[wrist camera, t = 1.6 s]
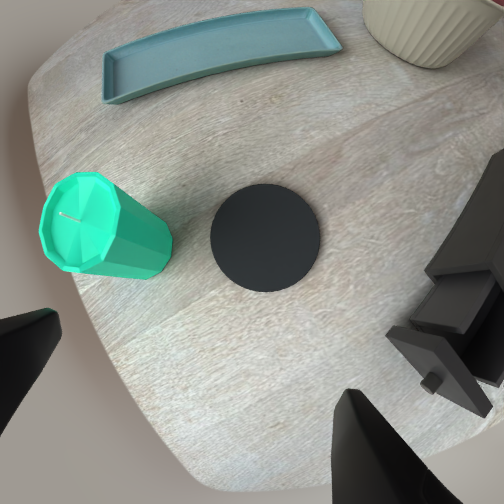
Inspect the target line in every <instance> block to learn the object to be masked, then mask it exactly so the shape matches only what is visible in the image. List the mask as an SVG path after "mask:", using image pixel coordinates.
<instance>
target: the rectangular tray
mask: <svg viewBox="0 0 504 504" xmlns="http://www.w3.org/2000/svg"><path fill="white" fill-rule="evenodd" d="M342 49H343V47H342V45H341V44H340V43H339V41H338V40H337V38H336V37H335V36H334V34H333V33H332V32H331V30H330V29H329V27H328V26H327V25H326V23H325V22H324V21H323V19H322V18H321V17H320V15H319V14H318V13H317V12H316V10H315V9H314V8H312V7H297V8H282V9H270V10H261V11H253V12H246V13H239V14H233V15H227V16H222V17H217V18H212V19H207V20H203V21H198V22H194V23H190V24H186V25H182V26H179V27H175V28H171V29H168V30H165V31H161V32H158V33H155V34H152V35H149V36H146V37H143V38H140V39H137V40H134V41H132V42H129V43H126V44H124V45H121V46H119V47H116V48H114V49H111V50H109V51H106V52H105V53H104V54H103V60H102V62H103V64H102V103H103V104H115V105H117V104H121V103H123V102H126V101H128V100H131V99H134V98H136V97H139V96H142V95H145V94H148V93H151V92H154V91H157V90H160V89H163V88H166V87H169V86H173V85H176V84H179V83H183V82H186V81H189V80H193V79H197V78H200V77H204V76H208V75H212V74H216V73H220V72H225V71H229V70H234V69H239V68H244V67H249V66H254V65H260V64H266V63H272V62H279V61H286V60H294V59H302V58H312V57H325V56H330V55H332V54H335V53H337V52H339V51H340V50H342Z"/></svg>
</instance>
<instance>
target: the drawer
mask: <svg viewBox="0 0 504 504" xmlns="http://www.w3.org/2000/svg"><path fill="white" fill-rule="evenodd" d="M410 320H411V322H412V323H413V324H414V325H415V326H416V327H417V329H418V330H419V331H420V332H419V331H415V330H411V329H407V328H403V327H399V326H395V325H394V326H393V327H392V328H391V329H390V330H389V331H388V333H387V334H386V335H385V336H386V337H387V338H388V339H389V340H390V341H391V343H392V344H393V345H394V346H395V347H396V348H397V349H398V350H399V351H400V352H401V353H402V355H403V356H404V357H405V358H406V359H407V360H408V361H409V362H410V363H411V365H412V366H413V367H414V368H415V369H416V370H417V371H418V372H419V374H420V375H421V376H422V377H423V378H424V379H423V380H422V381H421V383H420V385H421V386H422V387H423V388H424V389H425V390H426V391H427V392H428V393H430V394H432V395H433V394H434V393H435V392H436V393H437V394H439V395H441V396H443V397H445V398H446V399H448V400H450V401H452V402H454V403H456V404H458V405H459V406H461V407H463V408H465V409H467V410H469V411H471V412H473V413H475V414H476V415H478V416H480V417H482V418H485V417H486V416H487V414H488V413H489V412H490V410H491V409H492V408H493V405H492V404H491V402H490V401H489V399H488V398H487V396H486V395H485V393H484V392H483V390H482V389H481V387H480V386H479V384H478V383H477V381H476V380H478V381H481V382H484V383H486V384H489V385H492V386H494V387H497V388H499V387H500V385H501V383H502V382H503V380H504V292H503V290H502V288H501V287H500V285H499V283H498V282H497V280H496V278H495V277H494V275H493V273H492V272H491V270H490V269H489V270H481V271H472V272H463V273H454V274H444V275H441V277H440V278H439V280H438V281H437V283H436V284H435V285H434V287H433V288H432V290H431V291H430V293H429V294H428V295H427V297H426V298H425V299H424V301H423V302H422V303H421V305H420V306H419V307H418V309H417V310H416V311H415V313H414V314H413V315H412V317H411V318H410Z"/></svg>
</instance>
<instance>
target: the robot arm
mask: <svg viewBox="0 0 504 504" xmlns="http://www.w3.org/2000/svg"><path fill="white" fill-rule="evenodd" d="M61 336H62V329H61V325H60V319H59V314H58V313H57V311H55V310H53V309H50V308H44V309H40V310H36V311H32V312H28V313H24V314H20V315H16V316H12V317H8V318H4V319H0V436H1V434H2V433H3V431H4V429H5V427H6V426H7V424H8V422H9V421H10V419H11V418H12V416H13V414H14V413H15V411H16V410H17V408H18V406H19V405H20V403H21V402H22V400H23V398H24V397H25V396H26V394H27V393H28V391H29V390H30V388H31V387H32V385H33V384H34V382H35V381H36V379H37V378H38V376H39V375H40V373H41V372H42V370H43V368H44V367H45V365H46V363H47V361H48V360H49V358H50V356H51V354H52V353H53V351H54V349H55V348H56V346H57V344H58V342H59V341H60V339H61ZM427 469H428V468H427V466H426V465H425V464H424V463H423V462H422V461H421V459H420V458H419V457H418V456H417V455H416V454H415V453H414V451H413V450H412V449H411V448H410V447H409V446H408V445H407V443H406V442H405V441H404V440H403V439H402V438H401V436H400V435H399V434H398V433H397V432H396V431H395V430H394V428H393V427H392V426H391V425H390V424H389V423H388V422H387V420H386V419H385V418H384V417H383V416H382V415H381V413H380V412H379V411H378V410H377V409H376V408H375V407H374V405H373V404H372V403H371V402H370V401H369V400H368V398H367V397H366V396H365V395H364V394H363V393H362V392H361V391H360V390H358V389H350V388H348V389H346V390H345V391H344V392H343V394H342V396H341V398H340V399H339V401H338V403H337V405H336V407H335V410H334V418H333V435H332V449H331V471H332V504H463V503H462V502H461V501H460V500H459V499H457V498H456V497H455V496H454V495H453V494H452V493H451V492H450V491H449V490H448V489H447V488H446V487H445V486H444V485H443V484H442V483H441V482H440V481H439V480H438V479H437V477H436V476H435V475H434V474H433V473H432V472H431V471H430V470H429V469H428V470H427Z"/></svg>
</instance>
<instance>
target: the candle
mask: <svg viewBox="0 0 504 504" xmlns="http://www.w3.org/2000/svg"><path fill="white" fill-rule="evenodd" d="M39 235H40V239H41V242H42V246H43V250H44V253H45V255H46V256H47V257H48V258H49V259H50V260H51V261H52V262H54V263H55V264H56V265H57V266H58V267H59V268H60V269H61V270H63V271H70V272H77V273H85V274H94V275H103V276H113V277H123V278H133V279H144V280H146V279H148V278H150V277H152V276H154V275H156V274H158V273H160V272H161V271H162V270H163V268H164V267H165V265H166V264H167V262H168V261H169V259H170V258H171V253H172V243H173V238H172V236H171V233H170V231H169V229H168V226H167V224H166V223H165V222H164V221H163V220H161V219H160V218H159V217H157V216H156V215H155V214H153V213H152V212H151V211H149V210H148V209H146V208H145V207H144V206H142V205H141V204H140V203H138V202H137V201H136V200H134V199H133V198H132V197H130V196H129V195H128V194H126V193H125V192H124V191H122V190H121V189H120V188H119V187H117V186H116V185H115V184H113V183H112V182H111V181H109V180H108V179H106V178H105V177H104V176H102V175H101V174H100V173H98V172H76V173H74V174H72V175H70V176H69V177H67V178H65V179H63V180H61V181H60V182H58V183H56V184H55V185H54V187H53V189H52V191H51V193H50V195H49V197H48V199H47V201H46V203H45V205H44V207H43V212H42V217H41V222H40V227H39Z"/></svg>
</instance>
